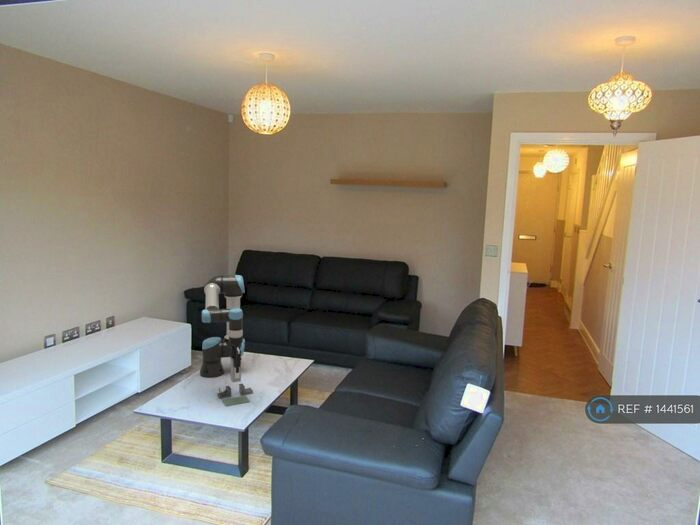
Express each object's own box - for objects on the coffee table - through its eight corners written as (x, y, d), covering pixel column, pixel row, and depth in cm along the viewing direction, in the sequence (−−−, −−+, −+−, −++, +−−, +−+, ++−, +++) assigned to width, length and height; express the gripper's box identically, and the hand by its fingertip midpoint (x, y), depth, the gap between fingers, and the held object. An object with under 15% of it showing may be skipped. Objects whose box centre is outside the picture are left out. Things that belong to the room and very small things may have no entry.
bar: (230, 379, 280) (230, 356, 278) (239, 378, 282) (239, 354, 280) (232, 382, 275) (232, 358, 273) (241, 381, 278) (241, 357, 276)
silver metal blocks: (217, 395, 287) (217, 386, 286) (250, 390, 296) (250, 381, 296) (219, 399, 283) (219, 389, 282) (253, 393, 292) (253, 384, 291)
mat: (221, 400, 281) (221, 399, 281) (245, 395, 288) (245, 395, 288) (225, 406, 274) (225, 405, 274) (250, 402, 280) (250, 401, 280)
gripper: (225, 332, 281) (225, 371, 284) (233, 341, 266) (233, 382, 269) (238, 331, 285) (238, 370, 288) (246, 339, 269) (246, 380, 273)
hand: (235, 376), depth 278 cm, fingers closed on bar, 5 cm apart
